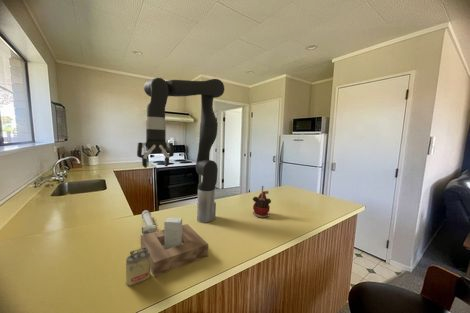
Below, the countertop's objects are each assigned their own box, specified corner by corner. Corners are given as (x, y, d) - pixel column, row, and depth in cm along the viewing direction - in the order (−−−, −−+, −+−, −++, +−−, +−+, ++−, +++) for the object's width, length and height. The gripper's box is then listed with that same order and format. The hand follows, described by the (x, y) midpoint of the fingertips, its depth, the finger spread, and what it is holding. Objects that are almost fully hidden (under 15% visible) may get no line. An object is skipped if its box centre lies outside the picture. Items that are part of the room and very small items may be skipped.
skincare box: (182, 245, 80) (182, 217, 78) (179, 252, 76) (180, 222, 74) (167, 245, 80) (167, 217, 78) (163, 251, 75) (164, 222, 74)
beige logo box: (127, 287, 59) (126, 256, 58) (124, 280, 62) (124, 250, 61) (151, 277, 63) (151, 248, 62) (148, 271, 66) (148, 243, 65)
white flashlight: (149, 217, 109) (159, 236, 88) (136, 219, 105) (143, 240, 84) (149, 208, 108) (159, 225, 87) (136, 210, 105) (143, 228, 84)
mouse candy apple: (250, 216, 115) (252, 186, 113) (254, 211, 124) (255, 183, 122) (268, 219, 111) (270, 189, 109) (271, 213, 120) (272, 185, 118)
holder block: (187, 234, 92) (187, 223, 91) (207, 256, 76) (208, 244, 75) (140, 247, 80) (140, 235, 79) (153, 276, 64) (153, 262, 63)
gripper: (170, 129, 89) (169, 164, 91) (135, 127, 80) (135, 166, 82) (176, 129, 83) (175, 167, 85) (139, 127, 74) (139, 169, 76)
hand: (156, 166), depth 83 cm, fingers open, 8 cm apart
